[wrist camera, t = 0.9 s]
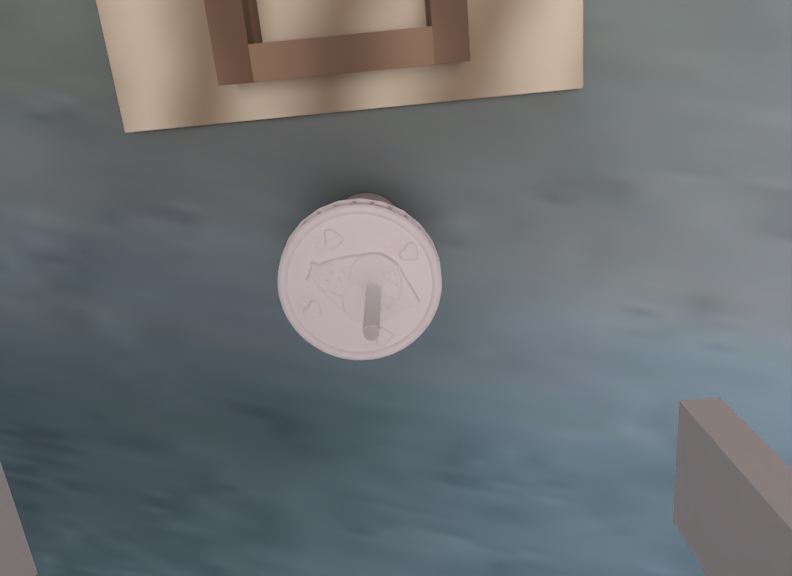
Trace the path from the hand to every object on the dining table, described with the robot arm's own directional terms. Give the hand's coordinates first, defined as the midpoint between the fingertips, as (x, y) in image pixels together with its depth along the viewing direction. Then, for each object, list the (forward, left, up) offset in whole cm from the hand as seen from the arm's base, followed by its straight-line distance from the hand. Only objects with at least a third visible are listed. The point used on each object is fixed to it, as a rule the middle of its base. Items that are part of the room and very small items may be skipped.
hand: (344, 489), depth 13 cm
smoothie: (0, 0, -23) cm, 23 cm away
